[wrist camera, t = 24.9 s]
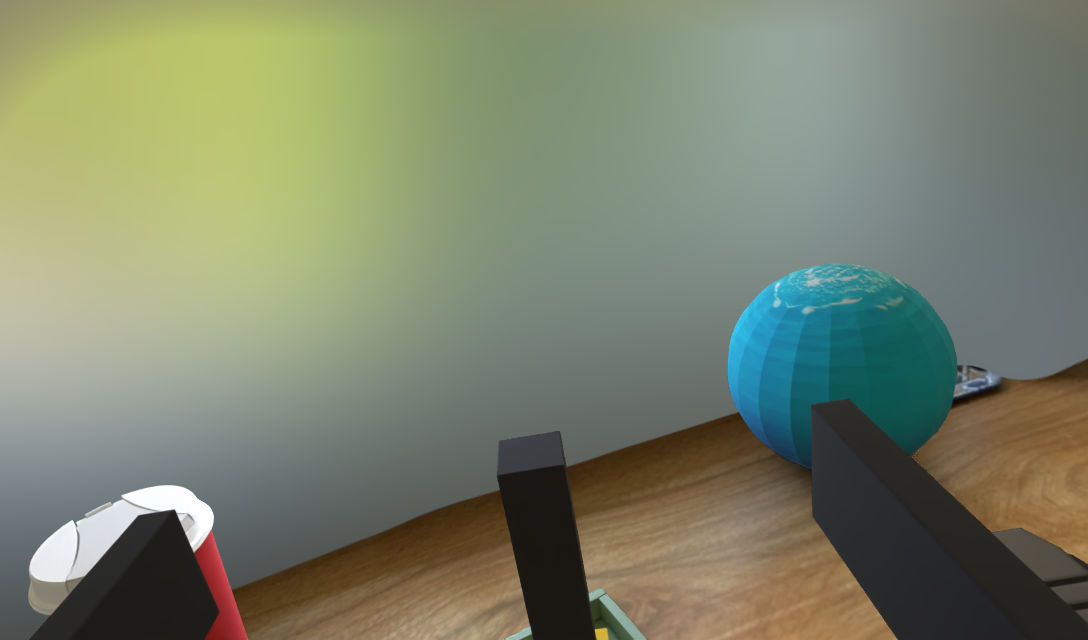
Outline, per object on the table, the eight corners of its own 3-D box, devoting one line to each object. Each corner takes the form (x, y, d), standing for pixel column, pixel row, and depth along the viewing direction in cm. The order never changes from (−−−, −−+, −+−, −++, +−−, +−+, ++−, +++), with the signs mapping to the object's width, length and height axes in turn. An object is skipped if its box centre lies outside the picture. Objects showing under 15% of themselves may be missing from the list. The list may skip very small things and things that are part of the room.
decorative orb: (997, 459, 45) (1018, 257, 40) (856, 553, 39) (858, 330, 34) (820, 389, 58) (818, 229, 53) (692, 452, 52) (676, 279, 47)
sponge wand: (558, 846, 27) (478, 510, 21) (550, 713, 32) (486, 419, 26) (641, 833, 26) (585, 493, 21) (619, 702, 32) (570, 405, 26)
